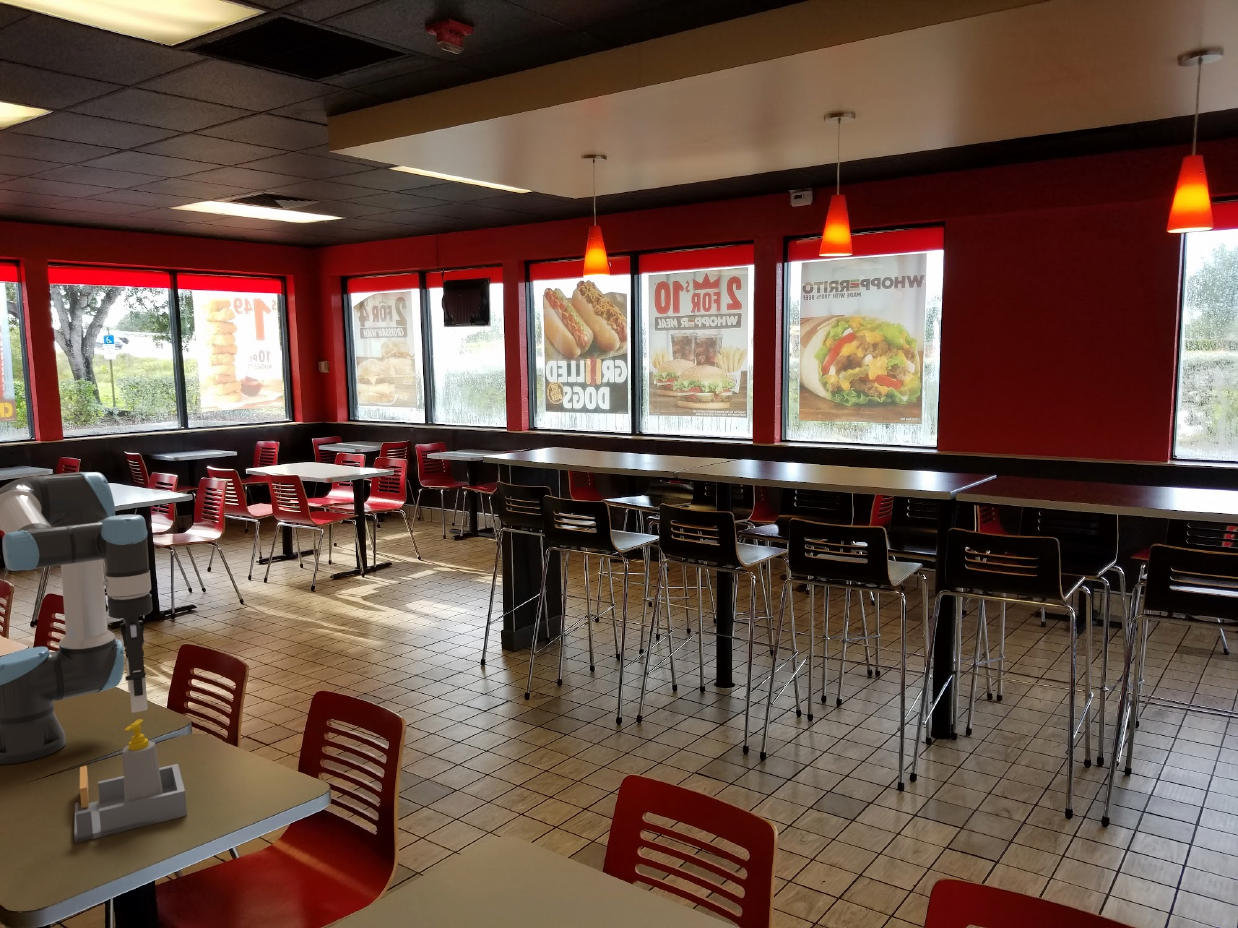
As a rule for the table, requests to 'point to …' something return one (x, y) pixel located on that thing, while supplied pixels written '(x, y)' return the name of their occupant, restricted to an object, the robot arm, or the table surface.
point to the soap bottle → (140, 766)
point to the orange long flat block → (84, 787)
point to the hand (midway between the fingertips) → (137, 700)
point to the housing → (130, 807)
